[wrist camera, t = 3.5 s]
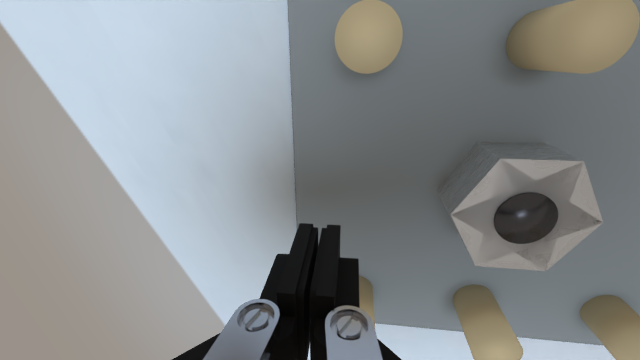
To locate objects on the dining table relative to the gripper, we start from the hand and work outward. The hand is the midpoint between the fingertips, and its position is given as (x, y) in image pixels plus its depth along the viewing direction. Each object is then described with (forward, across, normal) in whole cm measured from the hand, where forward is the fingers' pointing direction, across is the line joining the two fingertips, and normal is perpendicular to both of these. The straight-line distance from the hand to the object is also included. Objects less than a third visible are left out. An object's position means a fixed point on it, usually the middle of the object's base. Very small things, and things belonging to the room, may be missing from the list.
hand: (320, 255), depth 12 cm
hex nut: (+7, -10, 0) cm, 12 cm away
